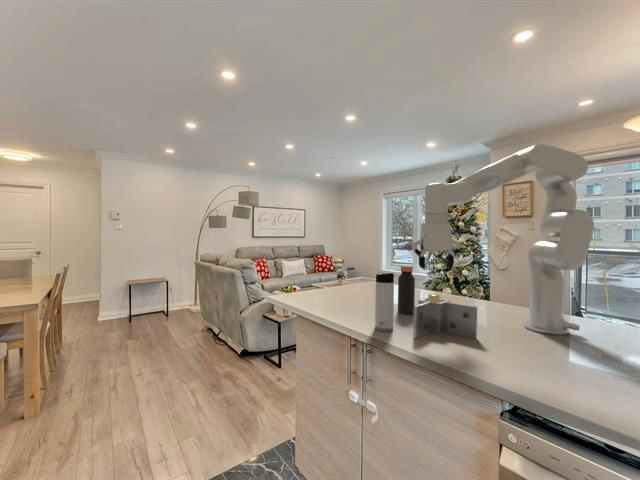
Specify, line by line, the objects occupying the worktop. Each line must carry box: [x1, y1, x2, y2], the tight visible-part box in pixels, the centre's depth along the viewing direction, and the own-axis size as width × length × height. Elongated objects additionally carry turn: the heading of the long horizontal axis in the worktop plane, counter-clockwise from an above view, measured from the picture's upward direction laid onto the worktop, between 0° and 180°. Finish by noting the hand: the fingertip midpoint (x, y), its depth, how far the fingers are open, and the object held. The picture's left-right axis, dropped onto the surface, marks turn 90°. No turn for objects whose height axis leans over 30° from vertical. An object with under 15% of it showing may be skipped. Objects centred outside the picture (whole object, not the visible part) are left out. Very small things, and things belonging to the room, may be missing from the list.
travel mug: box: [374, 272, 395, 333], centre depth 106 cm, size 6×7×20 cm
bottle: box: [397, 264, 416, 316], centre depth 129 cm, size 7×7×20 cm
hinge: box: [412, 296, 478, 340], centre depth 100 cm, size 18×18×10 cm
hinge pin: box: [427, 293, 441, 303], centre depth 107 cm, size 4×4×12 cm
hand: (436, 267), depth 107 cm, fingers open, 9 cm apart
